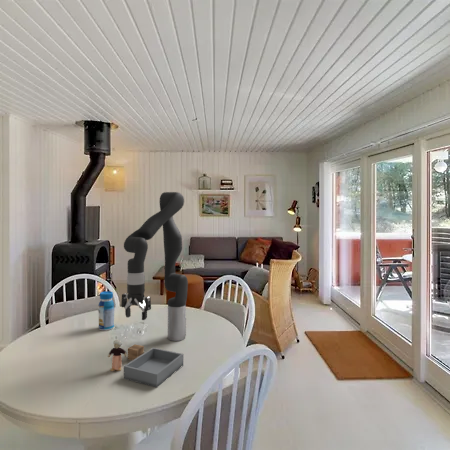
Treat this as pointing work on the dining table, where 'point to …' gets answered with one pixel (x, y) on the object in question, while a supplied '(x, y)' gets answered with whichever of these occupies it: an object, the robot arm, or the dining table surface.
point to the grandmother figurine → (117, 355)
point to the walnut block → (135, 351)
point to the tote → (153, 367)
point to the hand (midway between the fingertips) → (136, 318)
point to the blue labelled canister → (106, 311)
